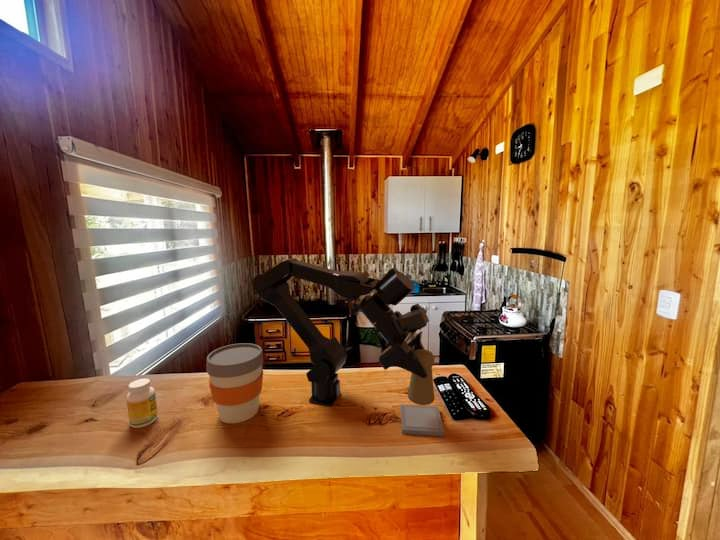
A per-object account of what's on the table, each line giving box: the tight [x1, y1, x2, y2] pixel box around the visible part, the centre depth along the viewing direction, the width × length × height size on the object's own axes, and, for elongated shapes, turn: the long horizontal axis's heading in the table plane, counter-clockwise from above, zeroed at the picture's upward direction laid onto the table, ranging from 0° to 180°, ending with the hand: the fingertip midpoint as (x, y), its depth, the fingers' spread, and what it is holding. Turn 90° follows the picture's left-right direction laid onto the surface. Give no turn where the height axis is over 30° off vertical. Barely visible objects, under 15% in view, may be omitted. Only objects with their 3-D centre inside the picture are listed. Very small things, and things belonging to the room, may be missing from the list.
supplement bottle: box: [125, 378, 159, 429], centre depth 69 cm, size 5×5×10 cm
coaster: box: [400, 404, 446, 437], centre depth 69 cm, size 9×9×1 cm
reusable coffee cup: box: [205, 342, 264, 424], centre depth 72 cm, size 12×13×15 cm
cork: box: [407, 348, 436, 406], centre depth 67 cm, size 6×6×11 cm
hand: (428, 371), depth 66 cm, fingers closed on cork, 5 cm apart
